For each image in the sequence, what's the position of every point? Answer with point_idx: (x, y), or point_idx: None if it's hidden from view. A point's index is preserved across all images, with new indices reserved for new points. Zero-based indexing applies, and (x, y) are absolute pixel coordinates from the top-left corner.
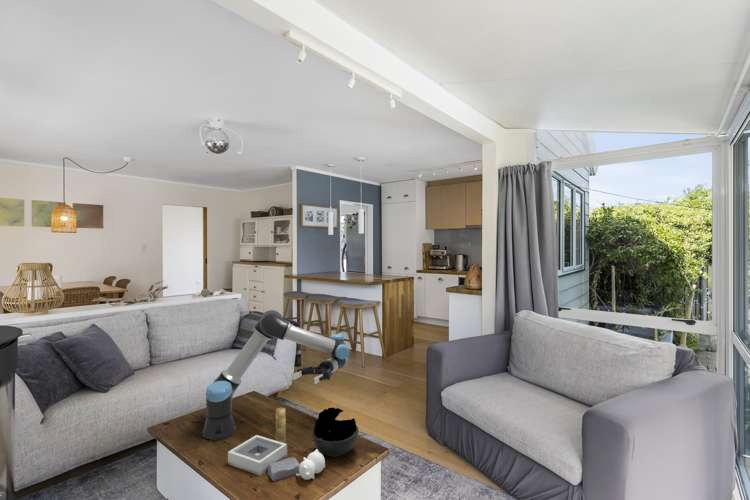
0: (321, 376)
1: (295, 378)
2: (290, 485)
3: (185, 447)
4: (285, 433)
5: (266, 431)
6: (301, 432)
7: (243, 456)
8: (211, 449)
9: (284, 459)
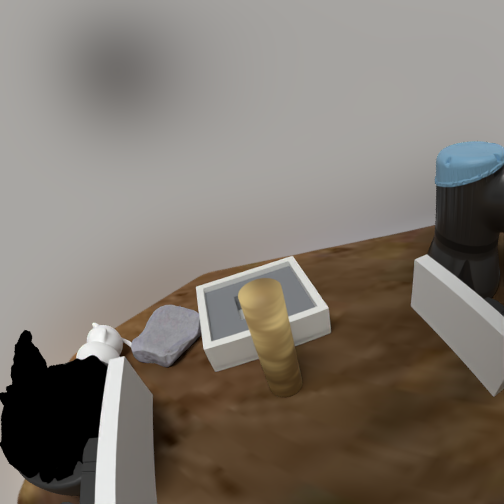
0: (107, 481)
1: (429, 319)
2: (132, 332)
3: (417, 235)
4: (266, 372)
5: (408, 373)
6: (308, 471)
7: (247, 272)
8: (382, 263)
9: (182, 341)
